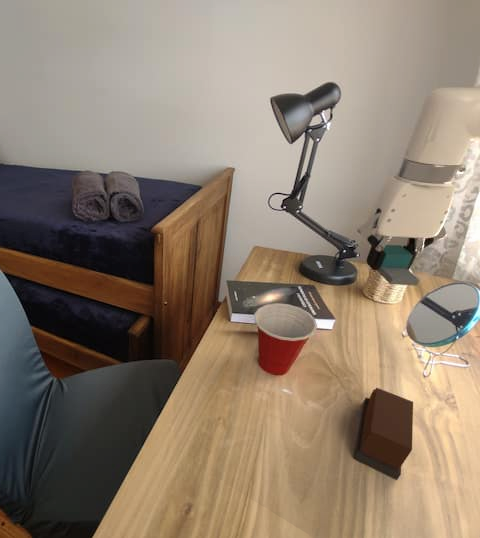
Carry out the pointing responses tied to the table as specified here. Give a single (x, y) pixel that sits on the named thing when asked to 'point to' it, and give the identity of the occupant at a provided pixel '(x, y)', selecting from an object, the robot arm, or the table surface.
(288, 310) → the plastic cup
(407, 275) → the teal block
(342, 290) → the table surface
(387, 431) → the chocolate bar chunk
